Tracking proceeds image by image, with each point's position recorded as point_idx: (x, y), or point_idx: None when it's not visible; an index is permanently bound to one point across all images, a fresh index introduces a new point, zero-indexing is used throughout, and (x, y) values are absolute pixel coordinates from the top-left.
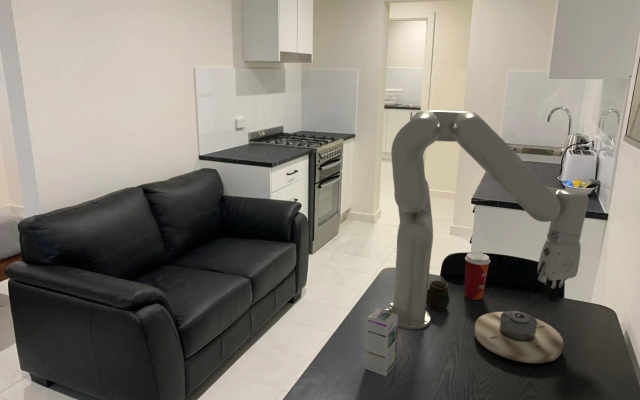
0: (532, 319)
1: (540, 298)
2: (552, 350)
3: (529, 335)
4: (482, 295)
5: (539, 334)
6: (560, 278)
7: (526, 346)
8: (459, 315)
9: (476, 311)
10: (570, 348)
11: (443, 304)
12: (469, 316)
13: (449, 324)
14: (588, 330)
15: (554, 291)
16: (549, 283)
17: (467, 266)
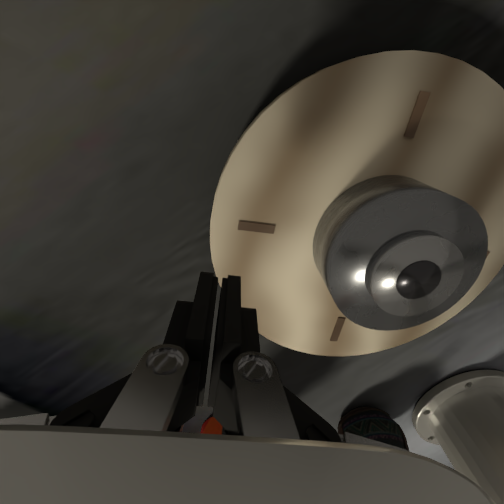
0: (360, 242)
1: (27, 366)
2: (394, 72)
3: (423, 183)
4: (211, 423)
5: (315, 191)
6: (282, 460)
7: (447, 155)
8: (347, 379)
9: (288, 378)
10: (202, 102)
11: (384, 422)
12: (328, 368)
13: (409, 360)
14: (5, 155)
15: (240, 328)
16: (300, 414)
17: None
